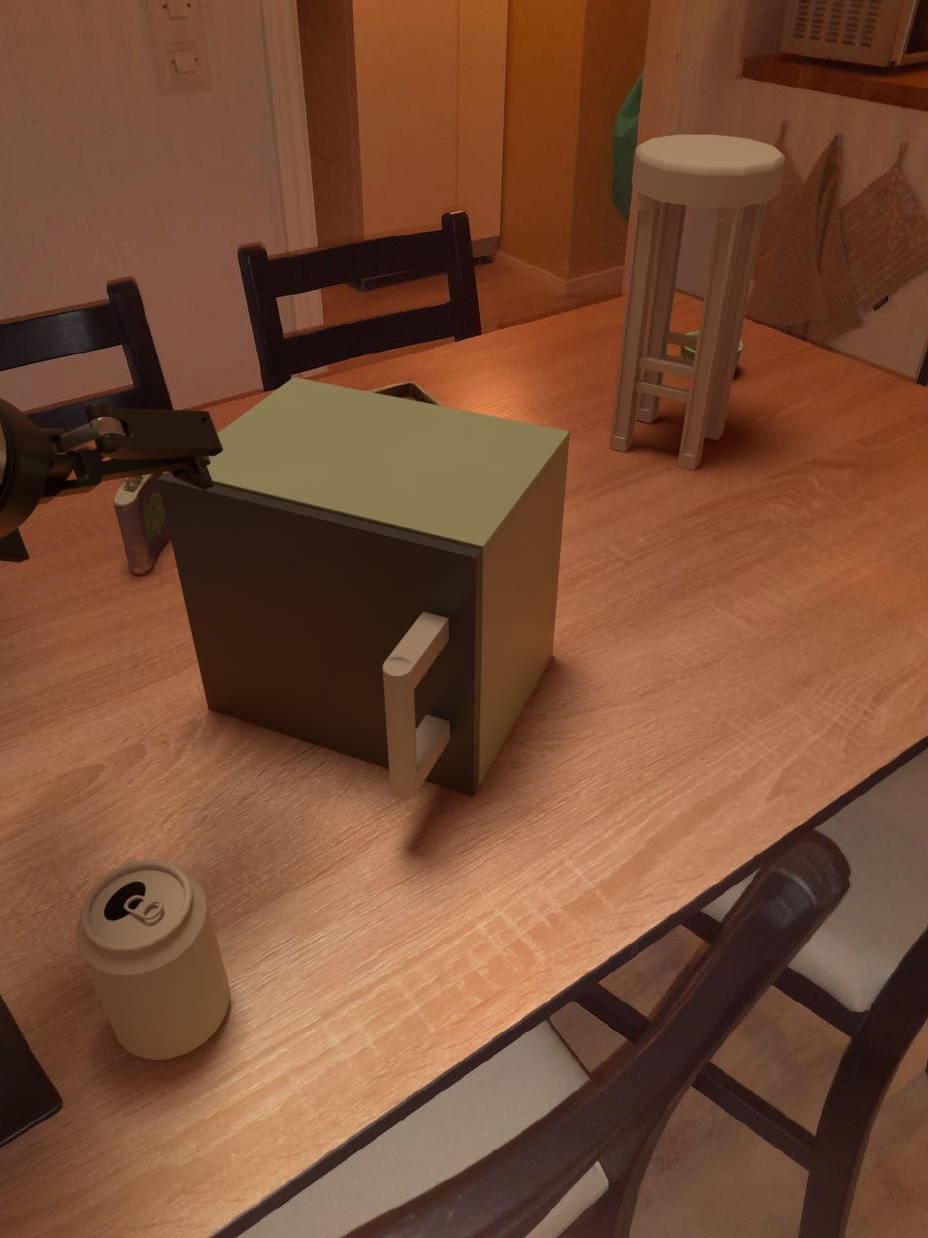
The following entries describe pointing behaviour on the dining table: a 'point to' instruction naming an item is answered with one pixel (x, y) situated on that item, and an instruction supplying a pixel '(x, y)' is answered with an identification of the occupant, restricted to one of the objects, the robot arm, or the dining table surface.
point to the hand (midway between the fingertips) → (110, 505)
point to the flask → (142, 521)
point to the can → (154, 958)
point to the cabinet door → (334, 630)
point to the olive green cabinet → (427, 505)
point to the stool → (678, 178)
